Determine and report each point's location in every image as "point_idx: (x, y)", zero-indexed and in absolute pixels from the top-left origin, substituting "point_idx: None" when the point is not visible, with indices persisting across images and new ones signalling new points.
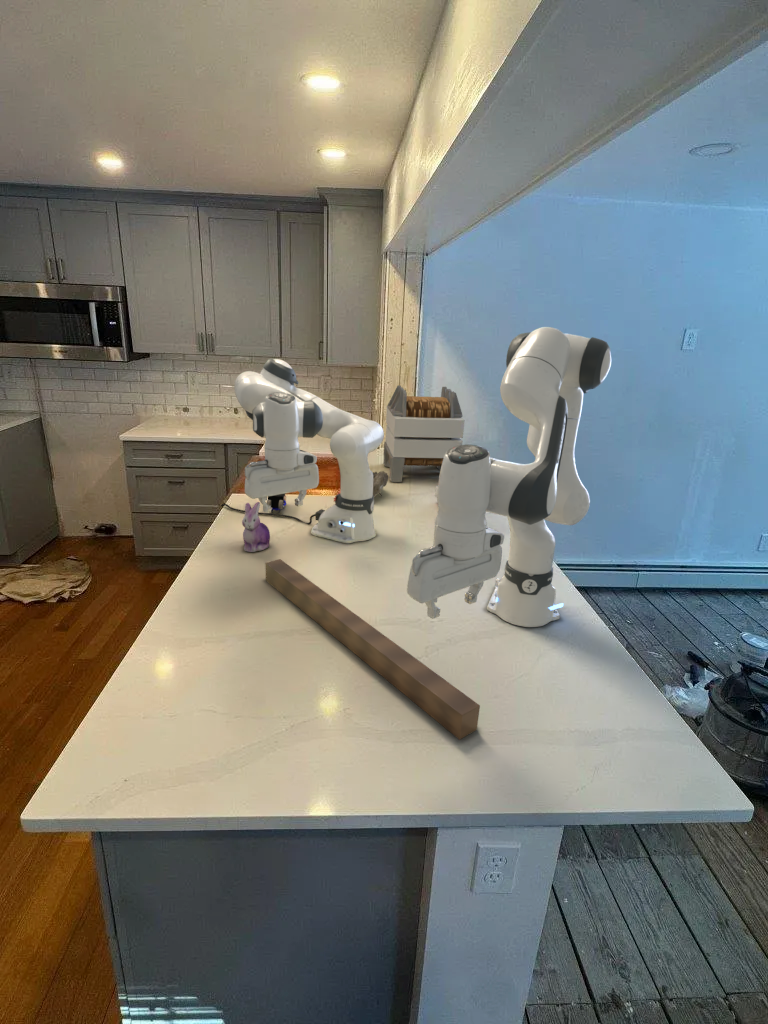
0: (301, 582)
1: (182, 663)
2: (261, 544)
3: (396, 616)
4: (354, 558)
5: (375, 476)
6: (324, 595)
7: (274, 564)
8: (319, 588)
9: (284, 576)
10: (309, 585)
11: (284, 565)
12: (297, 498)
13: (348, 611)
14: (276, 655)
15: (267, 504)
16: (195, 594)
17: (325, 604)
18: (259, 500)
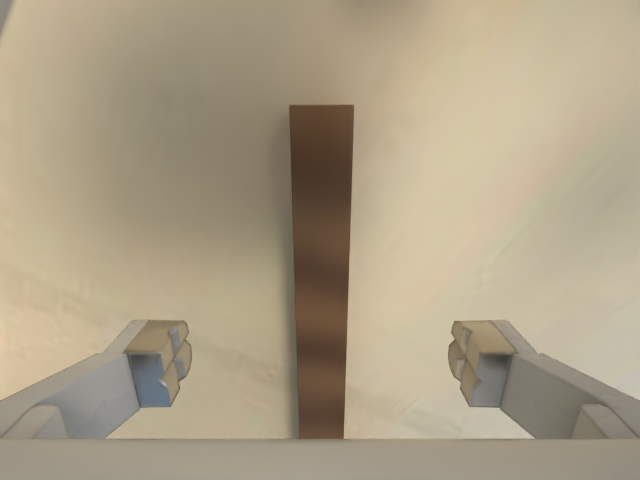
0: (321, 298)
1: (13, 346)
2: None
3: (450, 416)
4: (632, 120)
5: None
6: (333, 381)
7: (311, 139)
8: (344, 348)
9: (297, 240)
10: (330, 323)
11: (338, 166)
12: (510, 357)
13: None
14: (182, 405)
15: (150, 367)
16: (67, 69)
17: (311, 412)
18: (23, 394)
